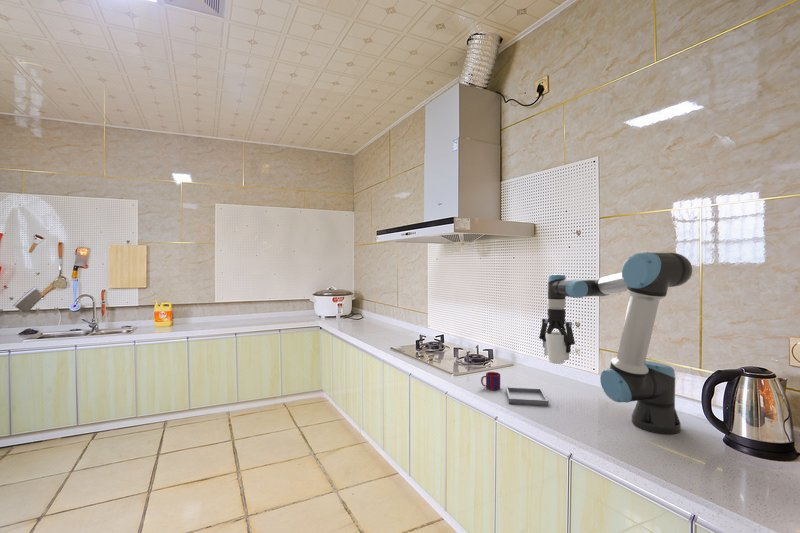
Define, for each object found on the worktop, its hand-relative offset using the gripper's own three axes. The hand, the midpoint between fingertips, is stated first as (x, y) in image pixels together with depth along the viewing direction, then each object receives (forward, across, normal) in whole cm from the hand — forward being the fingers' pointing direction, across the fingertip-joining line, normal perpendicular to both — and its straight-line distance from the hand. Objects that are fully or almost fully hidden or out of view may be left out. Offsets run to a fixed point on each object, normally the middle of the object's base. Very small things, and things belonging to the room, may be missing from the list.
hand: (556, 357), depth 177 cm
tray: (+17, +5, +15) cm, 23 cm away
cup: (+18, +24, +18) cm, 34 cm away
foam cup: (+2, 0, 0) cm, 2 cm away
